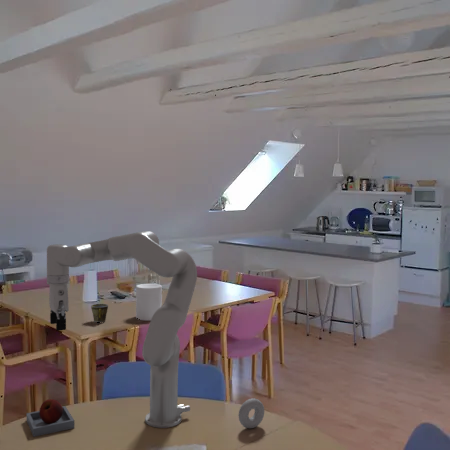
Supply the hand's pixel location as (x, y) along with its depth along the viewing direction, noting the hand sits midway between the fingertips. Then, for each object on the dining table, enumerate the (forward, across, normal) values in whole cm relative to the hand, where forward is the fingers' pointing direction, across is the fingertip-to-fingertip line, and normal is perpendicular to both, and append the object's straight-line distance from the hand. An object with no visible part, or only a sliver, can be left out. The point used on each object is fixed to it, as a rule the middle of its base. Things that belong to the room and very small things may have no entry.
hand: (57, 326), depth 183 cm
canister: (+31, +112, -80) cm, 141 cm away
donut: (+31, -45, -54) cm, 77 cm away
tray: (+30, -11, +5) cm, 33 cm away
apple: (+30, -11, +5) cm, 32 cm away
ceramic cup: (+31, +113, -49) cm, 127 cm away
